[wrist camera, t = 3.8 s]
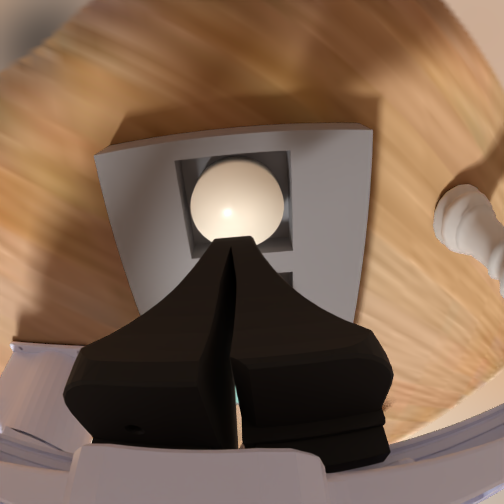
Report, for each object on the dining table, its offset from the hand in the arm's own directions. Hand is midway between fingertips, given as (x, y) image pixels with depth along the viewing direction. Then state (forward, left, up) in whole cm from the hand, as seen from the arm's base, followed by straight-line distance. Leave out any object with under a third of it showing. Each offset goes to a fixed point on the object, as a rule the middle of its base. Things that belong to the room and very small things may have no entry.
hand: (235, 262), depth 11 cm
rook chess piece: (+14, -2, -7) cm, 16 cm away
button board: (0, -6, -7) cm, 9 cm away
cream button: (0, 0, -6) cm, 6 cm away
